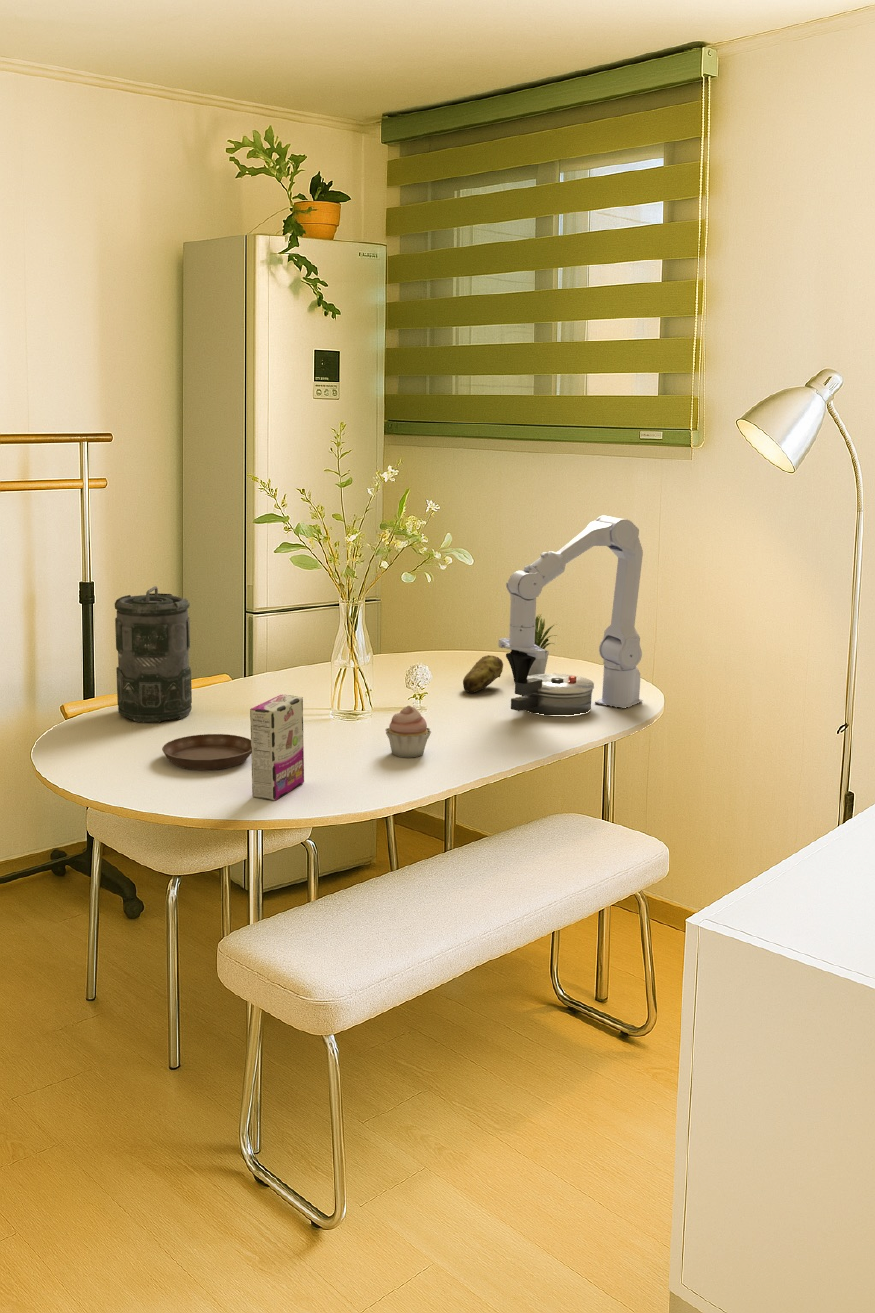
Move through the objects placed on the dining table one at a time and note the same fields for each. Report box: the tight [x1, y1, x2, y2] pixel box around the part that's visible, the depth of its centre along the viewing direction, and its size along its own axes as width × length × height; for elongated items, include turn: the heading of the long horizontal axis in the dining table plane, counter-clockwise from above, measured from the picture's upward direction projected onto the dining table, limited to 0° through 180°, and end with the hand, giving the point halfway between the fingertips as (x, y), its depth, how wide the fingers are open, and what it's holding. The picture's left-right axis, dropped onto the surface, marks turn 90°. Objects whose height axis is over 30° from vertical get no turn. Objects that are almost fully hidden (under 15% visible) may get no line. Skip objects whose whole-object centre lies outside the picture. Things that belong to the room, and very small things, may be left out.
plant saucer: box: [161, 733, 252, 771], centre depth 231 cm, size 18×18×3 cm
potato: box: [462, 655, 504, 693], centre depth 291 cm, size 8×13×8 cm, turn 126°
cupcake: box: [385, 705, 432, 759], centre depth 237 cm, size 9×9×10 cm
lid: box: [514, 673, 595, 696], centre depth 273 cm, size 22×17×3 cm
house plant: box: [528, 614, 558, 676], centre depth 308 cm, size 14×14×16 cm
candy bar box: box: [249, 694, 305, 801], centre depth 213 cm, size 11×5×16 cm, turn 158°
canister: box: [114, 585, 193, 724], centre depth 259 cm, size 16×16×28 cm
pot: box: [510, 689, 594, 715], centre depth 274 cm, size 22×16×5 cm
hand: (520, 684), depth 270 cm, fingers closed
